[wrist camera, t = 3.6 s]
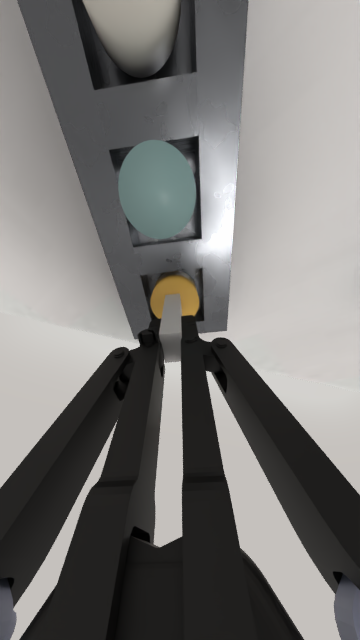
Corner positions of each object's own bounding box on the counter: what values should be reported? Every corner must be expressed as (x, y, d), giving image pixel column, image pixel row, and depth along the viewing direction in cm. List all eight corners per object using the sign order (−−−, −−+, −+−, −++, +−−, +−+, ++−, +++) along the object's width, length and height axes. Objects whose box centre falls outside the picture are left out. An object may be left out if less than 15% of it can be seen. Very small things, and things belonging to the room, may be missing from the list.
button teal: (123, 164, 12) (106, 146, 9) (189, 154, 12) (193, 133, 9) (140, 238, 15) (130, 242, 12) (193, 231, 15) (197, 234, 12)
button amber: (150, 273, 18) (145, 283, 15) (194, 268, 18) (198, 277, 15) (158, 311, 21) (155, 326, 18) (197, 307, 21) (200, 322, 18)
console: (19, -89, 9) (-80, -280, 5) (234, -142, 8) (273, -394, 5) (140, 322, 24) (134, 339, 21) (219, 314, 23) (226, 330, 20)
